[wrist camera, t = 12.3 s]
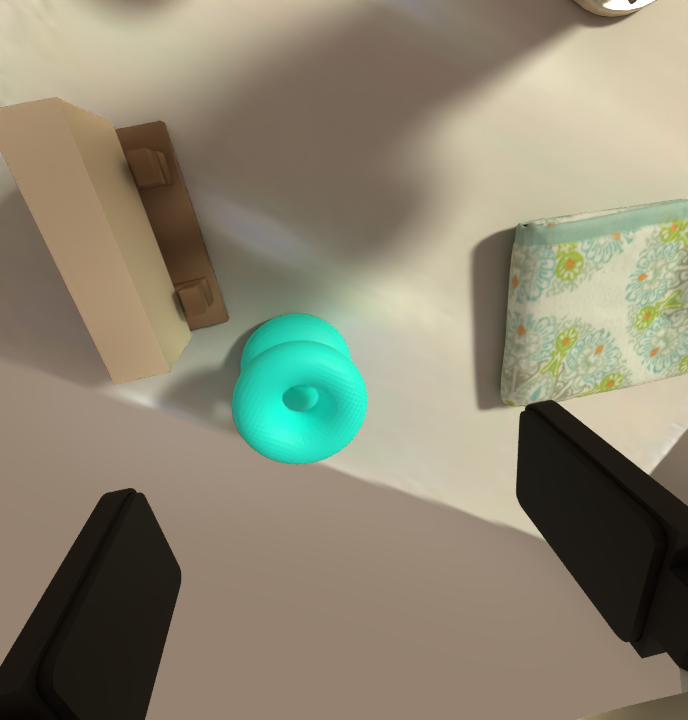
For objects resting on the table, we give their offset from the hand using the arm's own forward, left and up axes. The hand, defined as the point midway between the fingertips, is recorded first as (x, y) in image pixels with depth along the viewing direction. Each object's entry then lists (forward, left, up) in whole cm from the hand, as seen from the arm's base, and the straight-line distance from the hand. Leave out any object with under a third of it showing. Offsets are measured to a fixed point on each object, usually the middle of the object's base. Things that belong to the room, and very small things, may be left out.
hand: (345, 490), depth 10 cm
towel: (+9, +29, -27) cm, 41 cm away
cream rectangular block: (-6, -11, -24) cm, 27 cm away
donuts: (+7, -2, -27) cm, 28 cm away
